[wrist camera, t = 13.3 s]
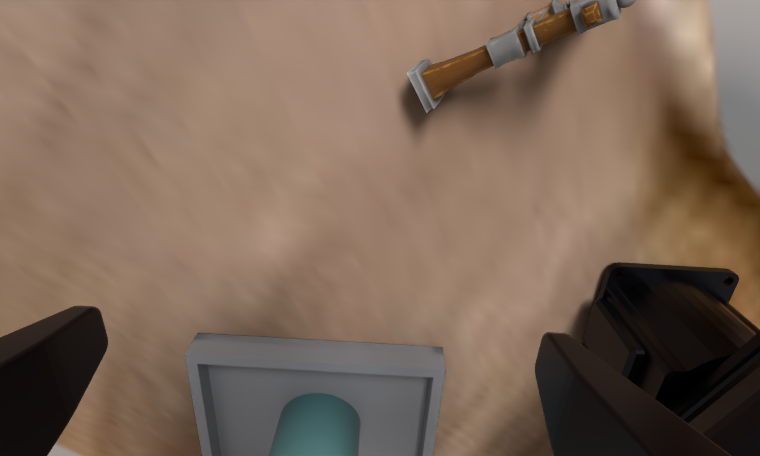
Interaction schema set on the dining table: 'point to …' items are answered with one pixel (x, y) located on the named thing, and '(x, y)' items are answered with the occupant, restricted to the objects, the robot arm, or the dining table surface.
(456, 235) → the dining table surface
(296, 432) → the teal jar
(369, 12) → the dining table surface
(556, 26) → the wooden post with brackets
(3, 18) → the dining table surface
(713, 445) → the robot arm
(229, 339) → the charcoal tray
